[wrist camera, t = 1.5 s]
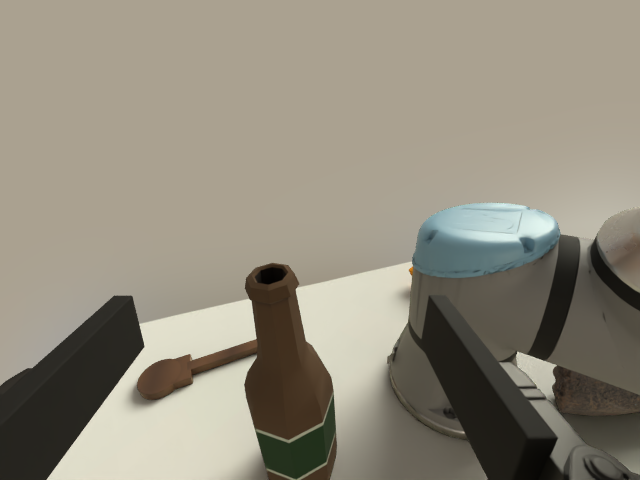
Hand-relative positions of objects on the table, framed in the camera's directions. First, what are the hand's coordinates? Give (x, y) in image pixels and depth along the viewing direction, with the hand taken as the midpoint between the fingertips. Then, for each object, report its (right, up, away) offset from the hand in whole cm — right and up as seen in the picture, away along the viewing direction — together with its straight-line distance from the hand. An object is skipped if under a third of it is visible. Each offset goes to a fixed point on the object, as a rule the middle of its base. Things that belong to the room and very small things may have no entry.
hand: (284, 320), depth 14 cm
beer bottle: (0, -20, +19) cm, 27 cm away
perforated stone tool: (+35, -16, +22) cm, 44 cm away
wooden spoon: (-14, -14, +30) cm, 36 cm away
